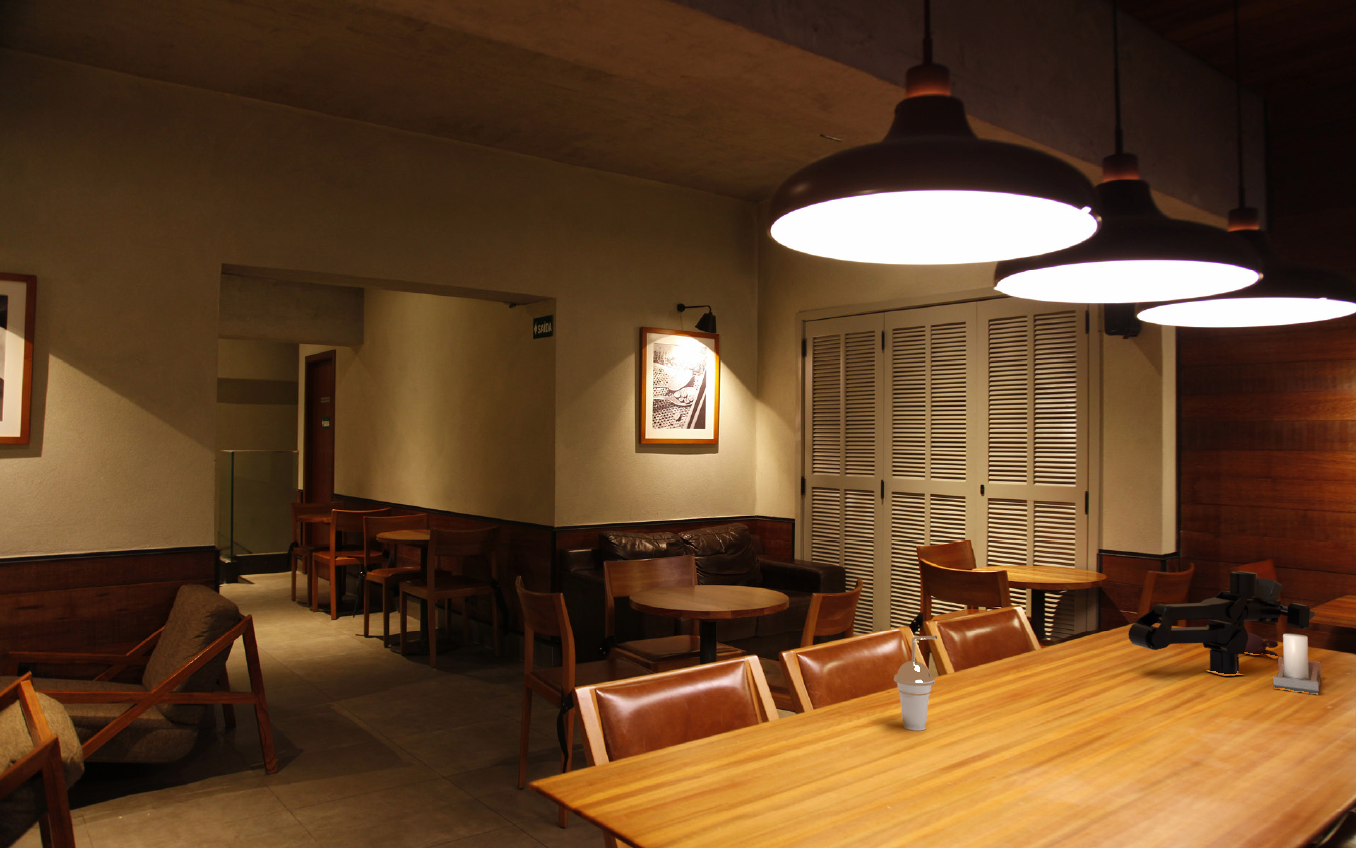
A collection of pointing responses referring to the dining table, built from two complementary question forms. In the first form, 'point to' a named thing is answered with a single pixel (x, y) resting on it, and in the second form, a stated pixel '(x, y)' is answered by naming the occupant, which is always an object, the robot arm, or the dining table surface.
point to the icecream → (1259, 645)
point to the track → (1299, 684)
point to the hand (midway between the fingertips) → (1298, 610)
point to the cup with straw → (914, 690)
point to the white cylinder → (1295, 656)
